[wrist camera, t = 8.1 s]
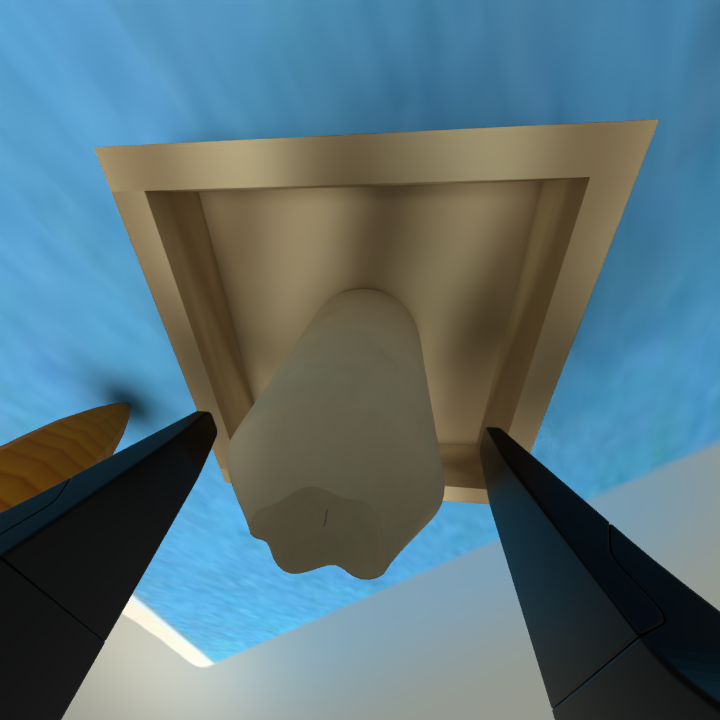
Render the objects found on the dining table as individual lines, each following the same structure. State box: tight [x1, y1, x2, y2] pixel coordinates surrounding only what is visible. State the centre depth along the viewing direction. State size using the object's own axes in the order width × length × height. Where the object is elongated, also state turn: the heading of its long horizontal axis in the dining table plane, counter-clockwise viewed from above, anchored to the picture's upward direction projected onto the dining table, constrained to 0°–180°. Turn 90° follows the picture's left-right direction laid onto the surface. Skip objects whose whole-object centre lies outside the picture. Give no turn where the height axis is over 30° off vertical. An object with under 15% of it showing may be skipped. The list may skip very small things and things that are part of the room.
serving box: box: [94, 119, 659, 504], centre depth 14 cm, size 16×16×4 cm
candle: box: [226, 289, 445, 580], centre depth 10 cm, size 6×6×10 cm
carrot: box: [0, 403, 130, 513], centre depth 14 cm, size 5×5×15 cm
